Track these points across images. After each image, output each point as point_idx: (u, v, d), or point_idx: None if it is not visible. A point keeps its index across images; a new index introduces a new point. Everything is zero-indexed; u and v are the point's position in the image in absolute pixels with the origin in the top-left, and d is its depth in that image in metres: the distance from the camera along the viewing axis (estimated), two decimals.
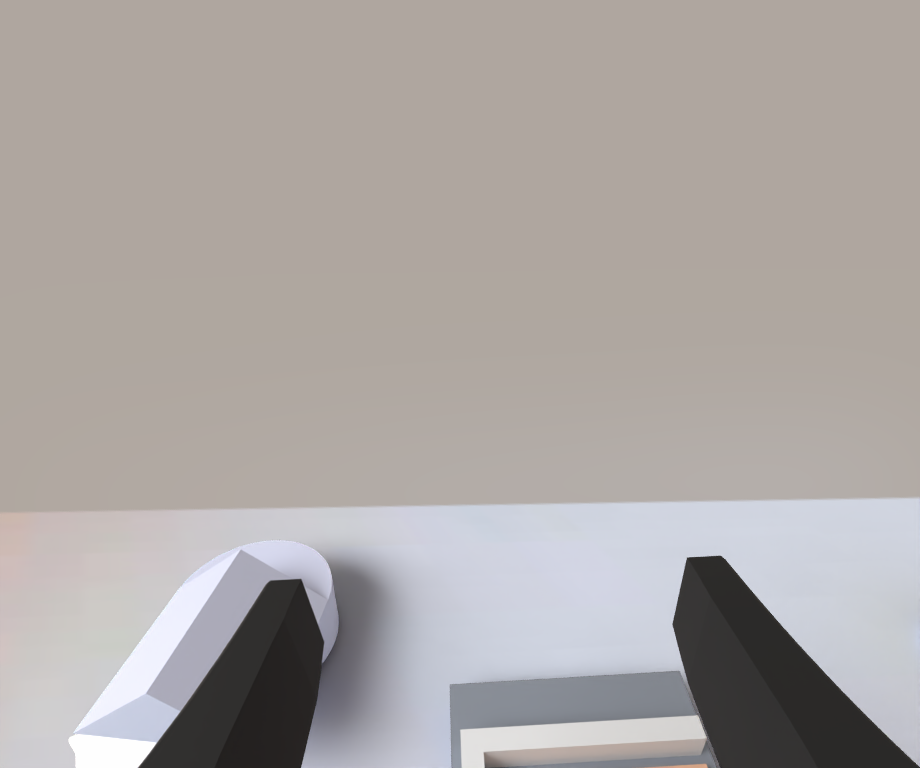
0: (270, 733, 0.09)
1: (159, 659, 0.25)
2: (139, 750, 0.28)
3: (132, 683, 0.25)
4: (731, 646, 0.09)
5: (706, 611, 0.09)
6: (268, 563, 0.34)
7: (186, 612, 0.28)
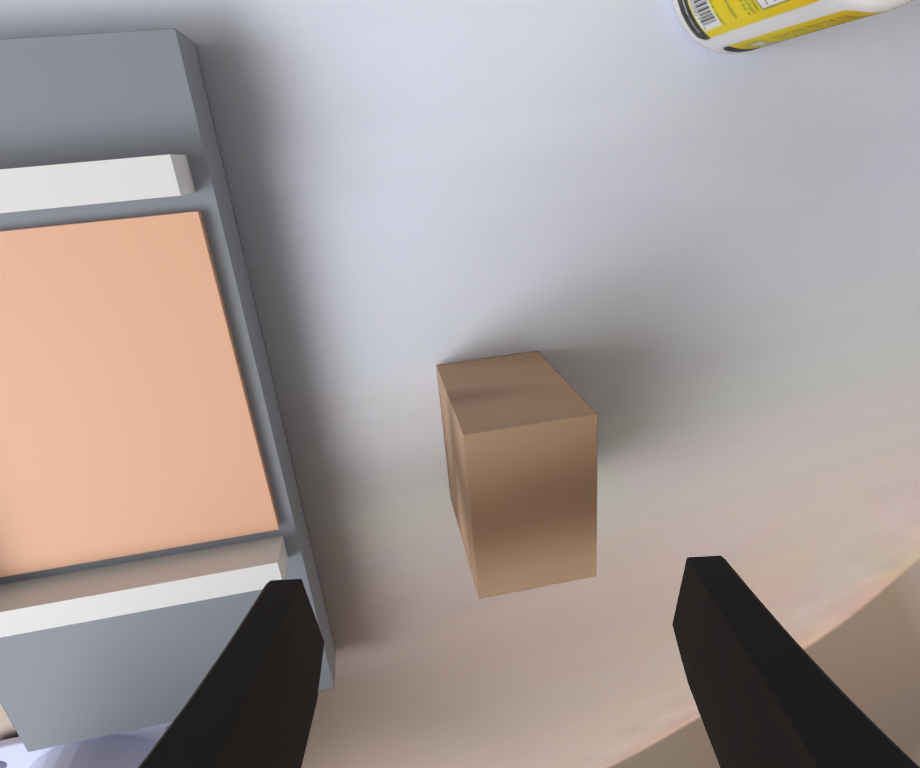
0: (271, 732, 0.09)
1: None
2: None
3: None
4: (731, 646, 0.09)
5: (706, 611, 0.09)
6: None
7: None
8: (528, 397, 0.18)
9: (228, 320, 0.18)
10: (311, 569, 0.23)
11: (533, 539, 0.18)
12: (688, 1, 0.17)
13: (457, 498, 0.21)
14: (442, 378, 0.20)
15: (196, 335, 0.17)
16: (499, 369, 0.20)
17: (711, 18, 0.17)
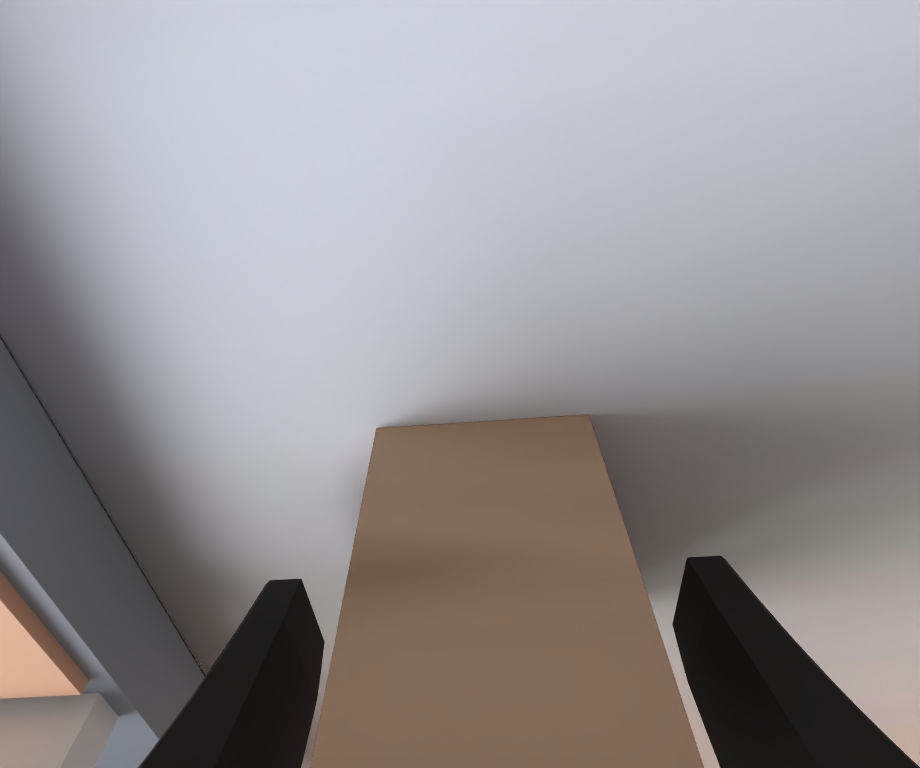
0: (271, 732, 0.09)
1: None
2: None
3: None
4: (731, 646, 0.09)
5: (706, 611, 0.09)
6: None
7: None
8: (529, 614, 0.07)
9: None
10: (183, 704, 0.14)
11: None
12: None
13: None
14: (368, 480, 0.09)
15: None
16: (494, 472, 0.09)
17: None
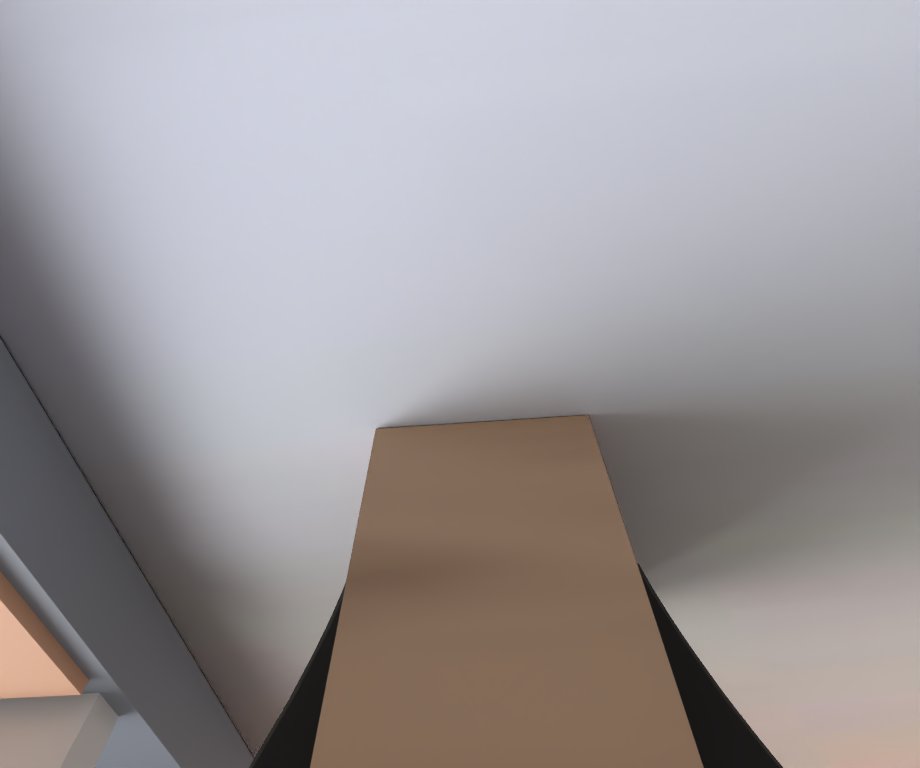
0: None
1: None
2: None
3: None
4: None
5: None
6: None
7: None
8: (529, 619, 0.07)
9: None
10: (183, 704, 0.14)
11: None
12: None
13: None
14: (367, 483, 0.09)
15: None
16: (494, 474, 0.09)
17: None
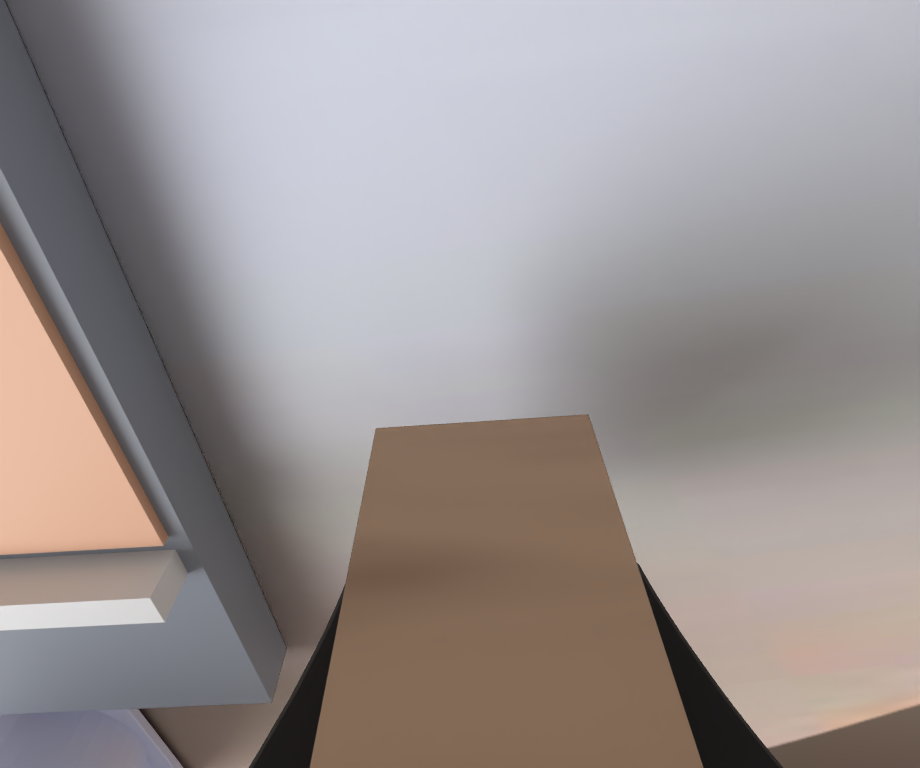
0: None
1: None
2: None
3: None
4: None
5: None
6: None
7: None
8: (528, 619, 0.07)
9: (18, 257, 0.11)
10: (234, 577, 0.17)
11: None
12: None
13: None
14: (367, 483, 0.09)
15: None
16: (494, 474, 0.09)
17: None
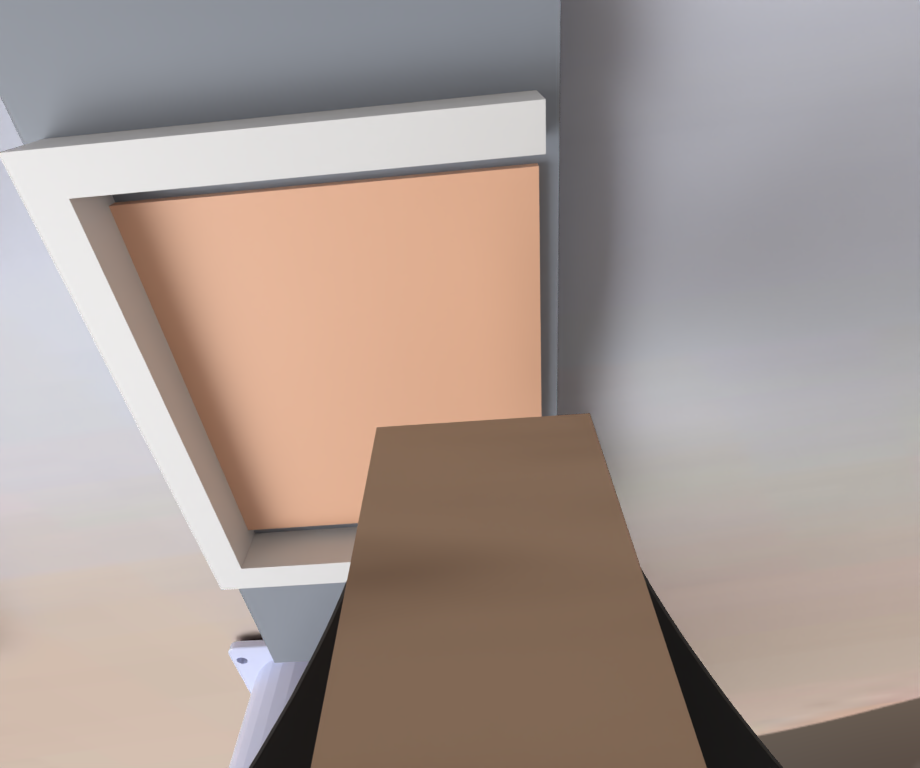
0: None
1: None
2: None
3: None
4: None
5: None
6: None
7: None
8: (530, 617, 0.07)
9: (538, 294, 0.15)
10: None
11: None
12: None
13: None
14: (368, 482, 0.09)
15: (504, 312, 0.15)
16: (495, 473, 0.09)
17: None
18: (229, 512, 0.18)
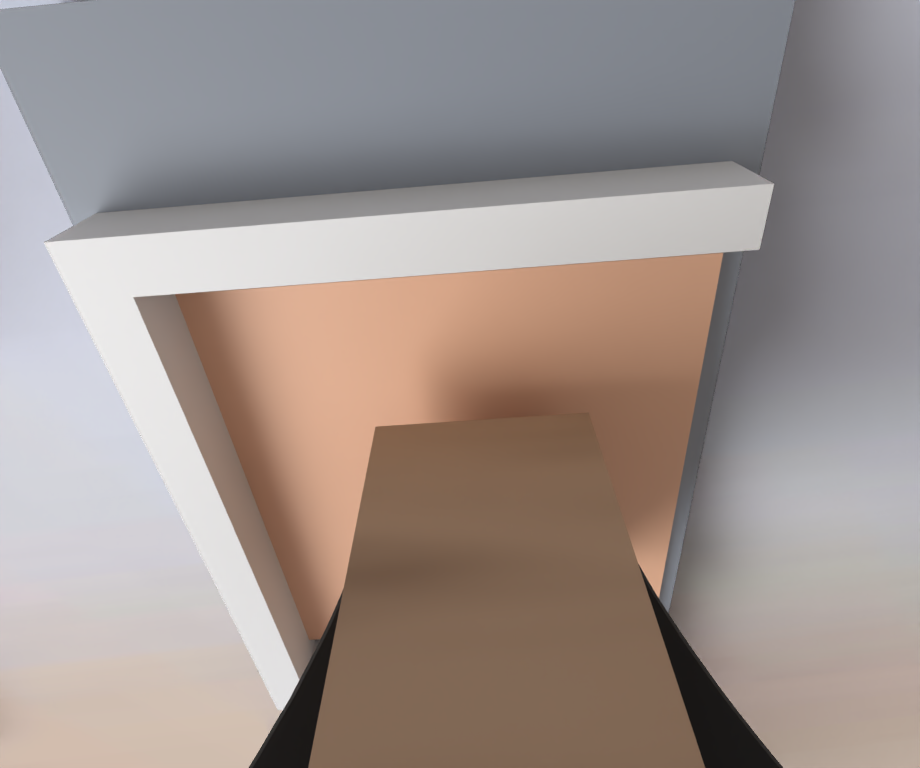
0: None
1: None
2: None
3: None
4: None
5: None
6: None
7: None
8: (529, 617, 0.07)
9: (690, 394, 0.12)
10: None
11: None
12: None
13: None
14: (366, 481, 0.09)
15: (648, 416, 0.12)
16: (494, 472, 0.09)
17: None
18: (292, 627, 0.15)
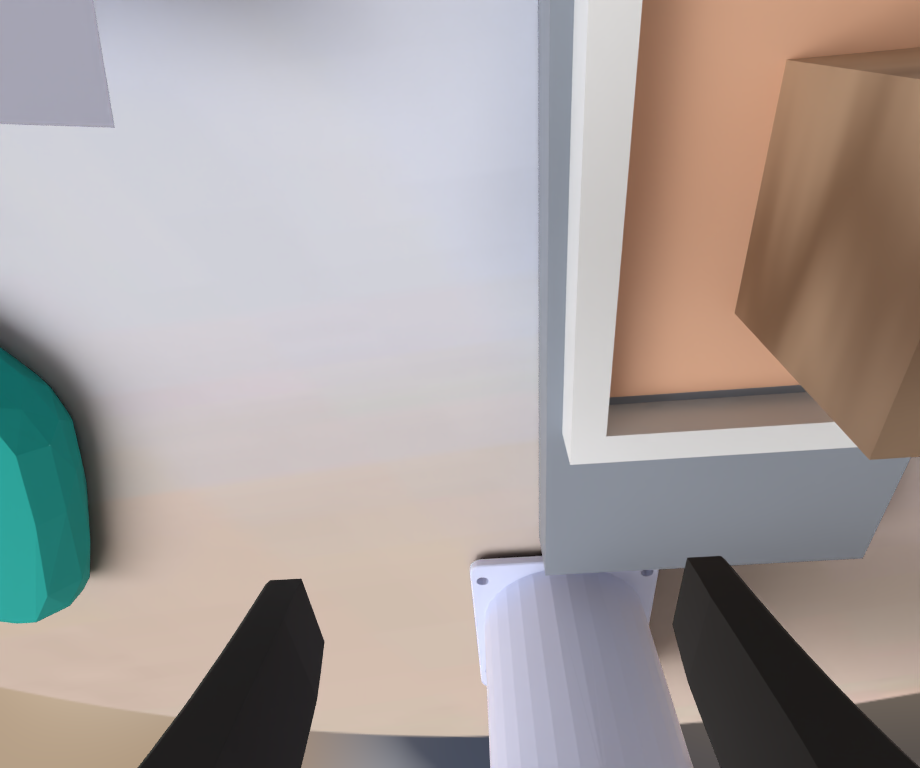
0: (271, 732, 0.09)
1: None
2: None
3: None
4: (731, 646, 0.09)
5: (706, 611, 0.09)
6: None
7: None
8: None
9: None
10: None
11: None
12: None
13: (799, 298, 0.12)
14: (826, 65, 0.11)
15: None
16: None
17: None
18: None
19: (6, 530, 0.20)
